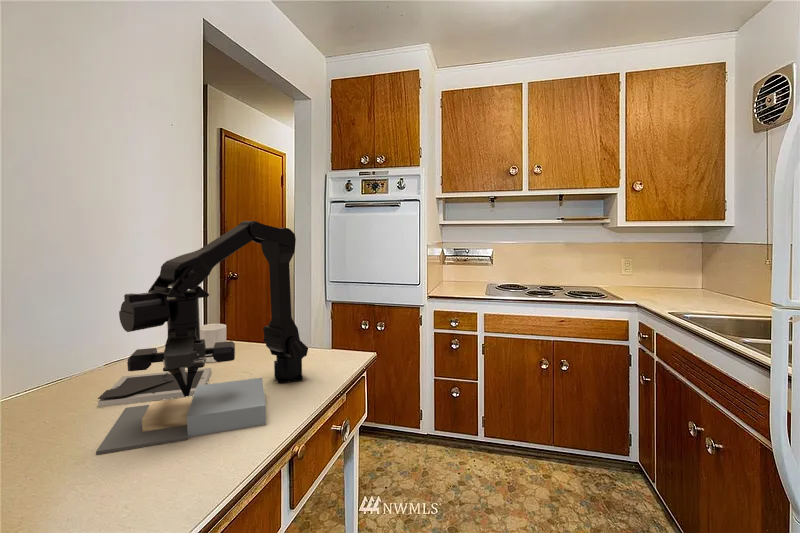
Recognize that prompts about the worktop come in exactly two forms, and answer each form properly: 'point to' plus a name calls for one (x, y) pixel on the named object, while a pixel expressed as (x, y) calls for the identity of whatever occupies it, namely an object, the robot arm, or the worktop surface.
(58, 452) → the worktop surface
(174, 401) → the coaster
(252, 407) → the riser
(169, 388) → the picture frame
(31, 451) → the worktop surface
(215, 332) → the white cup
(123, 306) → the robot arm
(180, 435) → the rubber mat
